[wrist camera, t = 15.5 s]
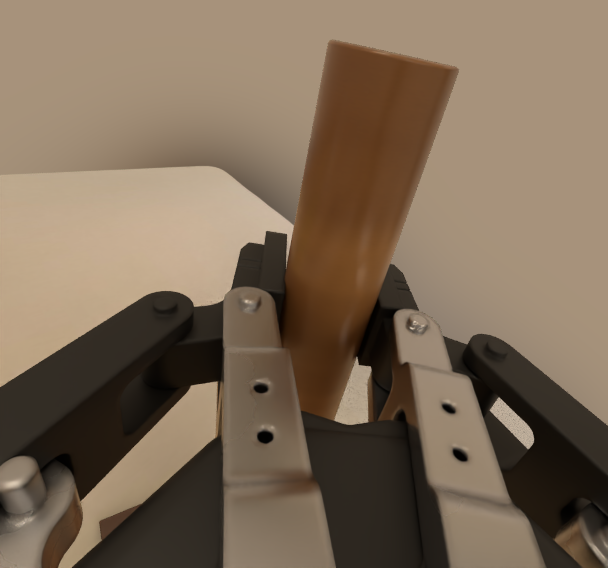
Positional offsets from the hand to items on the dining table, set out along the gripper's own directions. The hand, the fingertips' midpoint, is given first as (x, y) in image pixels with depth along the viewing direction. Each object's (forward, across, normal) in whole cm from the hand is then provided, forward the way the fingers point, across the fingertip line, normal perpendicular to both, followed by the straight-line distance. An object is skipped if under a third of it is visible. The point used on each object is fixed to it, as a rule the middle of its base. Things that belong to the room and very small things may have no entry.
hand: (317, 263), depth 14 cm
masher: (-3, 0, +15) cm, 16 cm away
